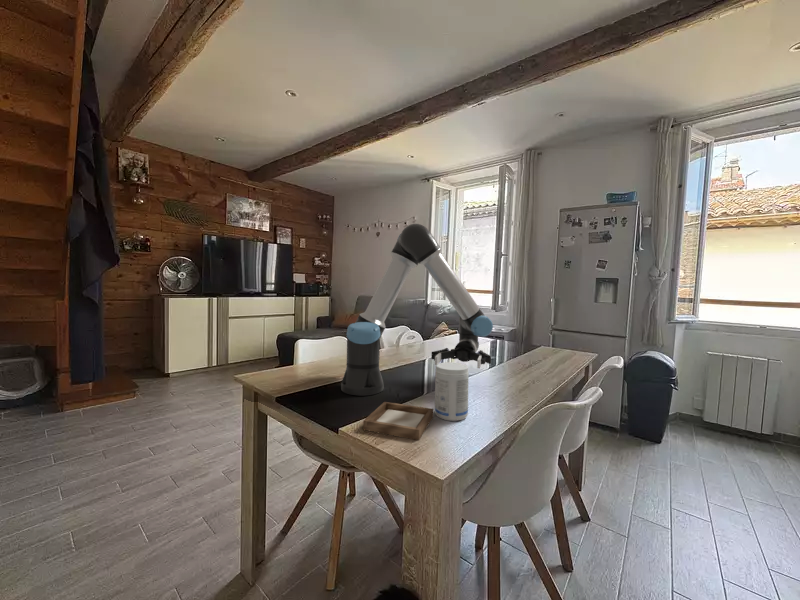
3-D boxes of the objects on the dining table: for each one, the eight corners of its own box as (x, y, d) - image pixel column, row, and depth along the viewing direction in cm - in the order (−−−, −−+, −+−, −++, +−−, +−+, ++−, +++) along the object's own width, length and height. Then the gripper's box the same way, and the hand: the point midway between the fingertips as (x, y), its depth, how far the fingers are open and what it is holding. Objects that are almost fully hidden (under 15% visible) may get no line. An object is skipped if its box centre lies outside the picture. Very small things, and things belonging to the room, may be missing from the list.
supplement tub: (464, 409, 101) (465, 362, 101) (471, 422, 92) (472, 370, 91) (432, 409, 101) (433, 361, 101) (436, 421, 92) (437, 369, 91)
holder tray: (363, 430, 85) (363, 420, 85) (384, 409, 100) (384, 401, 99) (419, 440, 81) (419, 430, 80) (433, 417, 95) (433, 408, 95)
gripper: (499, 362, 122) (497, 377, 102) (433, 357, 130) (419, 370, 110) (499, 342, 122) (497, 353, 102) (433, 338, 130) (419, 348, 110)
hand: (456, 362), depth 106 cm, fingers open, 13 cm apart
